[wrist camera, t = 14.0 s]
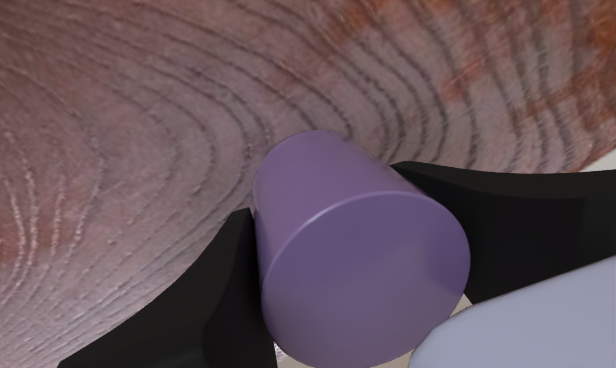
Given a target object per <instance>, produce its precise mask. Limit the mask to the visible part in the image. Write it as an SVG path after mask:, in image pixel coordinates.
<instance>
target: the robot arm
mask: <svg viewBox="0 0 616 368" xmlns="http://www.w3.org/2000/svg"><path fill="white" fill-rule="evenodd" d="M389 166H390V167H392V168H393V169H394V170H396V171H397V172H398V173H400V174H401V175H403V176H404V177H405V178H407V179H408V180H409V181H411V182H412V183H413V184H415V185H416V186H417V187H419V188H420V189H422V190H423V191H424V192H426V193H427V194H428V195H430V196H431V197H432V198H434V199H435V200H437V201H438V202H439V203H441V204H442V205H443V206H445V207H446V208H447V209H448V210H449V211H450V212H451V213H452V214H453V215H454V216H455V217H456V218H457V220H458V221H459V222H460V224H461V226H462V228H463V230H464V232H465V234H466V237H467V240H468V243H469V248H470V255H471V261H470V272H469V278H468V281H467V285H466V288H465V290H464V294H465V295H466V297H467V298H468V299H469V300H470V302H471V303H472V304H473V305H472V306H469V307H466V308H465V309H463V310H461V311H460V312H458V313H456V314H454V315H452V316H451V317H449V318H447V319H445V320H444V321H442V322H440V323H438V324H436V325H435V326H434V327H433V328H432V329H431V330H430V332H429V333H428V334H427V335H426V336H425V337H424V339H423V340H422V341H421V342H420V343H419V345H418V346H417V347H416V348H415V349H414V351H413V352H412V354H411V356H410V359H409V364H408V368H616V169H614V170H603V171H591V172H577V173H552V174H518V173H497V172H485V171H477V170H468V169H461V168H454V167H447V166H441V165H435V164H429V163H422V162H415V161H403V162H399V163H396V164H392V165H389ZM57 368H278V367H277V360H276V354H275V348H274V340H273V339H272V338H271V336H270V334H269V332H268V331H267V329H266V326H265V323H264V320H263V316H262V310H261V302H260V290H259V279H258V267H257V255H256V244H255V232H254V220H253V217H252V214H251V211H250V208H249V207H248V208H244V209H241V210H238V211H234V212H232V213H231V214H230V216H229V217H228V218H227V220H226V221H225V223H224V224H223V226H222V227H221V229H220V230H219V231H218V233H217V234H216V236H215V237H214V238H213V240H212V241H211V242H210V244H209V245H208V246H207V247H206V249H205V250H204V251H203V252H202V254H201V255H200V256H199V257H198V258H197V260H196V261H195V262H194V263H193V264H192V265H191V266H190V267H189V268H188V269H187V270H186V271H185V272H184V273H183V274H182V275H181V276H180V277H179V278H178V279H177V280H176V281H175V282H174V283H173V284H172V285H170V286H169V287H168V288H167V289H166V290H165V291H163V292H162V293H161V294H160V295H159V296H157V297H156V298H155V299H154V300H153V301H152V302H150V303H149V304H148V305H146V306H145V307H144V308H142V309H141V310H140V311H138V312H137V313H136V314H134V315H133V316H132V317H130V318H129V319H127V320H126V321H124V322H123V323H122V324H120V325H119V326H117V327H116V328H114V329H113V330H111V331H110V332H108V333H107V334H105V335H103V336H102V337H100V338H99V339H97V340H95V341H94V342H92V343H90V344H89V345H87V346H85V347H84V348H82V349H81V350H79V351H77V352H76V353H74V354H72V355H71V356H69V357H67V358H65V359H64V360H62V361H60V363H59V365H58V366H57Z"/></svg>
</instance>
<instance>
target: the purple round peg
mask: <svg viewBox="0 0 616 368" xmlns="http://www.w3.org/2000/svg"><path fill="white" fill-rule="evenodd" d="M252 209H253V220H254V232H255V244H256V255H257V267H258V279H259V290H260V302H261V310H262V316H263V320H264V323H265V326H266V329H267V331H268V332H269V334H270V336H271V338H272V339H273V340H274V342H275V343H276V344H277V345H278V346H279V348H280V349H281V350H283V351H284V352H285V353H286V354H287V355H288V356H290V357H292V358H293V359H295V360H296V361H298V362H301V363H303V364H305V365H308V366H311V367H314V368H370V367H374V366H378V365H380V364H384V363H386V362H389V361H392V360H394V359H396V358H398V357H400V356H402V355H404V354H406V353H408V352H410V351H411V350H413V349H414V348H416V347H417V346H418V345H419V343H420V342H421V341H422V340H423V339H424V337H425V336H426V335H427V334H428V333H429V332H430V330H431V329H432V328H433V327H434V326H435V325H436V324H438V323H440V322H442V321H444V320H445V319H447V318H449V317H450V315H451V314H452V312H453V311H454V310H455V308H456V306H457V305H458V303H459V301H460V299H461V297H462V295H463V293H464V290H465V288H466V285H467V281H468V278H469V272H470V261H471V255H470V248H469V243H468V240H467V237H466V234H465V232H464V230H463V228H462V226H461V224H460V222H459V221H458V220H457V218H456V217H455V216H454V215H453V214H452V213H451V212H450V211H449V210H448V209H447V208H446V207H445V206H443V205H442V204H441V203H439V202H438V201H437V200H435V199H434V198H432V197H431V196H430V195H428V194H427V193H426V192H424V191H423V190H422V189H420V188H419V187H417V186H416V185H415V184H413V183H412V182H411V181H409V180H408V179H407V178H405V177H404V176H403V175H401V174H400V173H398V172H397V171H396V170H394V169H393V168H392V167H390V166H389V165H388V164H386V163H385V162H383V161H382V160H381V159H379V158H378V157H377V156H375V155H374V154H373V153H371V152H370V151H368V150H367V149H366V148H364V147H363V146H362V145H360V144H359V143H358V142H356V141H355V140H353V139H352V138H350V137H348V136H346V135H344V134H342V133H338V132H335V131H329V130H311V131H305V132H301V133H298V134H295V135H293V136H290V137H289V138H287V139H285V140H283V141H282V142H280V143H279V144H278V145H276V146H275V147H274V148H273V149H272V150H271V151H270V152H269V153H268V154H267V155H266V156H265V158H264V159H263V160H262V162H261V163H260V165H259V167H258V169H257V171H256V174H255V176H254V180H253V184H252Z"/></svg>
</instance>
